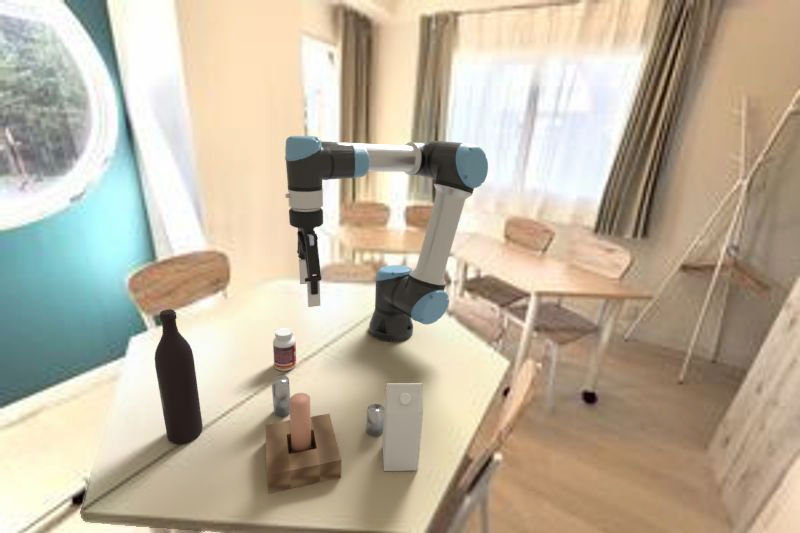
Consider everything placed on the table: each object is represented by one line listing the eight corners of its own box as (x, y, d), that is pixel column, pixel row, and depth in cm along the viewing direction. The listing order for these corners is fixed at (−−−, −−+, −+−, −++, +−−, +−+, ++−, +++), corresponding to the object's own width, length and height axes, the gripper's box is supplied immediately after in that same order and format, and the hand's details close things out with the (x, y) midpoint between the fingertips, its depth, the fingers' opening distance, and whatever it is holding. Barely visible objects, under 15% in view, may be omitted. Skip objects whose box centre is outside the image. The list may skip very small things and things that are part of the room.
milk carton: (382, 446, 91) (385, 373, 85) (413, 445, 92) (419, 373, 86) (383, 471, 85) (387, 394, 78) (417, 471, 85) (424, 394, 79)
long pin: (310, 449, 89) (308, 391, 84) (312, 463, 86) (311, 403, 81) (291, 453, 88) (288, 394, 83) (292, 467, 84) (290, 407, 79)
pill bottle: (299, 368, 118) (298, 334, 114) (278, 374, 114) (276, 339, 111) (292, 357, 122) (290, 324, 119) (271, 363, 119) (269, 329, 115)
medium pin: (289, 404, 102) (287, 374, 99) (292, 415, 99) (290, 383, 96) (273, 408, 101) (270, 377, 98) (274, 418, 98) (272, 387, 94)
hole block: (329, 429, 95) (329, 413, 94) (341, 477, 83) (341, 459, 81) (266, 441, 91) (265, 424, 89) (268, 493, 78) (267, 475, 77)
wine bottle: (190, 418, 96) (173, 301, 86) (209, 430, 93) (194, 310, 83) (160, 436, 90) (139, 313, 80) (180, 450, 87) (160, 323, 77)
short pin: (380, 423, 98) (381, 402, 96) (385, 435, 95) (386, 413, 93) (364, 426, 97) (364, 405, 95) (368, 438, 93) (369, 416, 91)
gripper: (283, 197, 102) (288, 276, 110) (295, 222, 80) (300, 319, 88) (313, 196, 105) (316, 274, 112) (333, 220, 83) (335, 314, 90)
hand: (309, 294), depth 100 cm, fingers open, 13 cm apart
